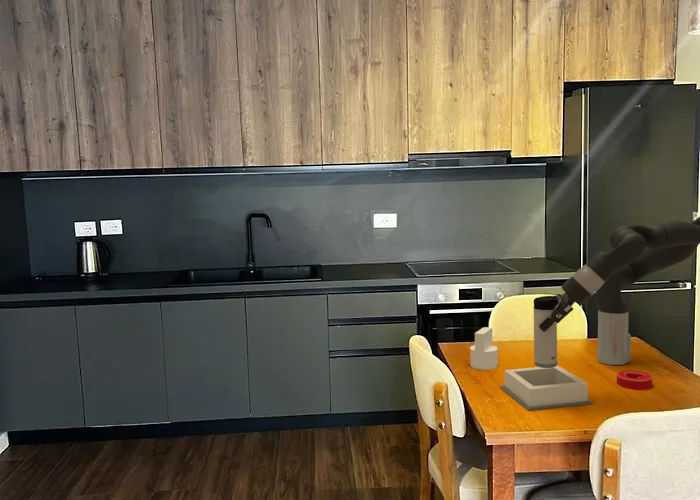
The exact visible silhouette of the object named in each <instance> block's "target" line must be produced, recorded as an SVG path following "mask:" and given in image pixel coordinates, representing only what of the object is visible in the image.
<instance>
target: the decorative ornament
mask: <svg viewBox="0 0 700 500" xmlns="http://www.w3.org/2000/svg"><path fill="white" fill-rule="evenodd" d="M616 384H617V385H618V386H619V387H621V388H624V389H628V390H635V391H644V390H649V389H651V388H653V376H652V375H651V374H650V373H648V372H645V371H642V370H633V369H630V370H629V369H627V370H625V369H624V370H620V371H618V372H617V373H616Z"/></svg>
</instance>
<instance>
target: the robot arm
mask: <svg viewBox="0 0 700 500" xmlns="http://www.w3.org/2000/svg"><path fill="white" fill-rule="evenodd" d="M608 242H609V245H610V246H611V248H613V249H611V250H610V251H608V252H605V251H600V252H597V253H596V254H594V255H593V257H592V258H590V259H589V260H588V262H586V263H585V264H584V265H583V266H582V267H580V268H579V269H577V271H575V273H573V274H572V275H571V276H570V277H569V278H568V279H567V280H566V281H565V282H564V283H563V284H562V285H561V290H562V291H564V293H563V294H561V293H558V294H557V295H556V296H557V297H558V299H557V298H556V305H555V306H554V308H553V309H552V313H551V314H550V315H549V316H548V317H547V318H546V319H545V320H544V321H543V322H542V323H541V324H540V325H539V328H540V329H541V330H542V331H543V332H545V331H546V330H547V329H548V328H549V327H551V326H552V325H553V324H554V323H557V324H559V323H560V322H561V321H562V320H563V319H565V318H566V317H567V316H568V315H569V314H570V313H571V312H573V311H574V308H573V305H574V304H575V303H576V304H577V305H579V306H583V305H584V304H585V303H586V302H587V301H588V300H589V299H590V298H591V297H592V296H593V295H595V300H596V304H597V309H598V311H597V323H598V324H597V361H598V362H599V363H601V364H604V365H609V366H611V365H612V366H623V365H626V364H627V363H631V351H632V350H631V345H632V344H631V343H632V339H631V338H632V335H631V334H630V333H629V311H630V310H629V306H630V305H629V303H628V302H627V301H625V300H623V299H622V290H626V289H627V288H628V287H631V286H632V285H634V284H635V283H637V282H639V281H640V280H641V279H643V278H645V277H647V276H648V275H650V274H653V273H657V272H660V271H663V270H665V269H667V268H671V267H672V266H675V265H677V264H679V263H681V262H683V261H685V260H687V259H689V258H690V257H691V256H692V255H693V253H694V252H695V251H696V249H697V248H698V247H699V245H700V216H698V217H697V218H695V219H694V220H692V221H690V222H689V221H684V220H670V221H663V222H660V223H654V224H624V225H621V226H619V227H616V228H615V229H613V230H612V231H611V233H610V234H609V236H608ZM556 315H557V317H556Z"/></svg>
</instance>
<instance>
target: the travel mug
mask: <svg viewBox="0 0 700 500" xmlns="http://www.w3.org/2000/svg"><path fill="white" fill-rule="evenodd" d="M556 298H557V299H558V297H557V295H544V296H538V297H536V298H534V300H533V347H534V349H533V353H534V358H533V360H534V365H535V367H541V368H553V367H556V366H557V365H558V323H554V324H553V325H552V326H551V327H549V328H548V329H547V330H546V331H545V332H543V331H542V330H541V329H540V328H539V325H540V324H541V323H542V322H543V321H544V320H545V319H546V318H547V317H548V316H549V315H550V314H551V313H552V309H553V308H554V306H555V305H556ZM556 317H557V315H556Z"/></svg>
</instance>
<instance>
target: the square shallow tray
mask: <svg viewBox="0 0 700 500" xmlns="http://www.w3.org/2000/svg"><path fill="white" fill-rule="evenodd" d="M503 372H504V384H503V385H499V388H500V389H501V390H503V392H505V393H506V394H507V395H509V397H511V398H512V399H513V400H514V401H516V402H517V403H518V404H520V406H522V407H523V408H524V409H526V411H528V412H529V411H530V412H531V411H539V410H549V409H550V410H551V409H558V408H568V407H577V406H578V407H579V406H585V405H586V406H587V405H593V404H594V401H592V400H591V399H589V395H588V393H589V392H588V391H589V383H588V382H587V381H584V380H583V379H581V378H579V377H577V376H576V375H574V374H573V373H571V372H570V371H567V370H566V369H565V368H563V367H561V366H560V365H558V364H557V366H556V367H553V368H541V367H538V366H535V367H524V368H516V369H505V370H504V371H503Z"/></svg>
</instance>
